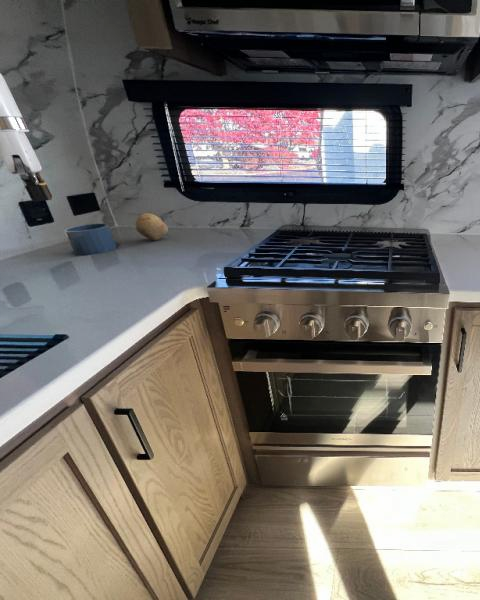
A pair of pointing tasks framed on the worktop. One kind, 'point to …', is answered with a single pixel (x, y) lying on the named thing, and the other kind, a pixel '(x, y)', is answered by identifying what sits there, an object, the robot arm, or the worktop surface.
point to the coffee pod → (45, 190)
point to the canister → (91, 239)
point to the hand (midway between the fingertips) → (42, 198)
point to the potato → (151, 226)
